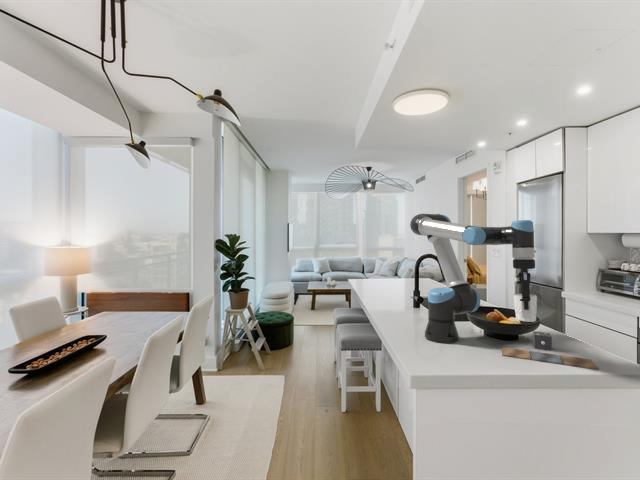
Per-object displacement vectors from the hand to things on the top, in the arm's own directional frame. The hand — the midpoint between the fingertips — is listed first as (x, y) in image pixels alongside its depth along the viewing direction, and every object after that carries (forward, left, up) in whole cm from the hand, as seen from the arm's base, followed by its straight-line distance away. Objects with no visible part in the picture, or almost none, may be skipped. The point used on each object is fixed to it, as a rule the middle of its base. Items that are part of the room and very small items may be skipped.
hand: (525, 315), depth 127 cm
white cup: (0, 0, -2) cm, 2 cm away
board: (+6, +1, -16) cm, 17 cm away
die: (+7, +15, -16) cm, 23 cm away
